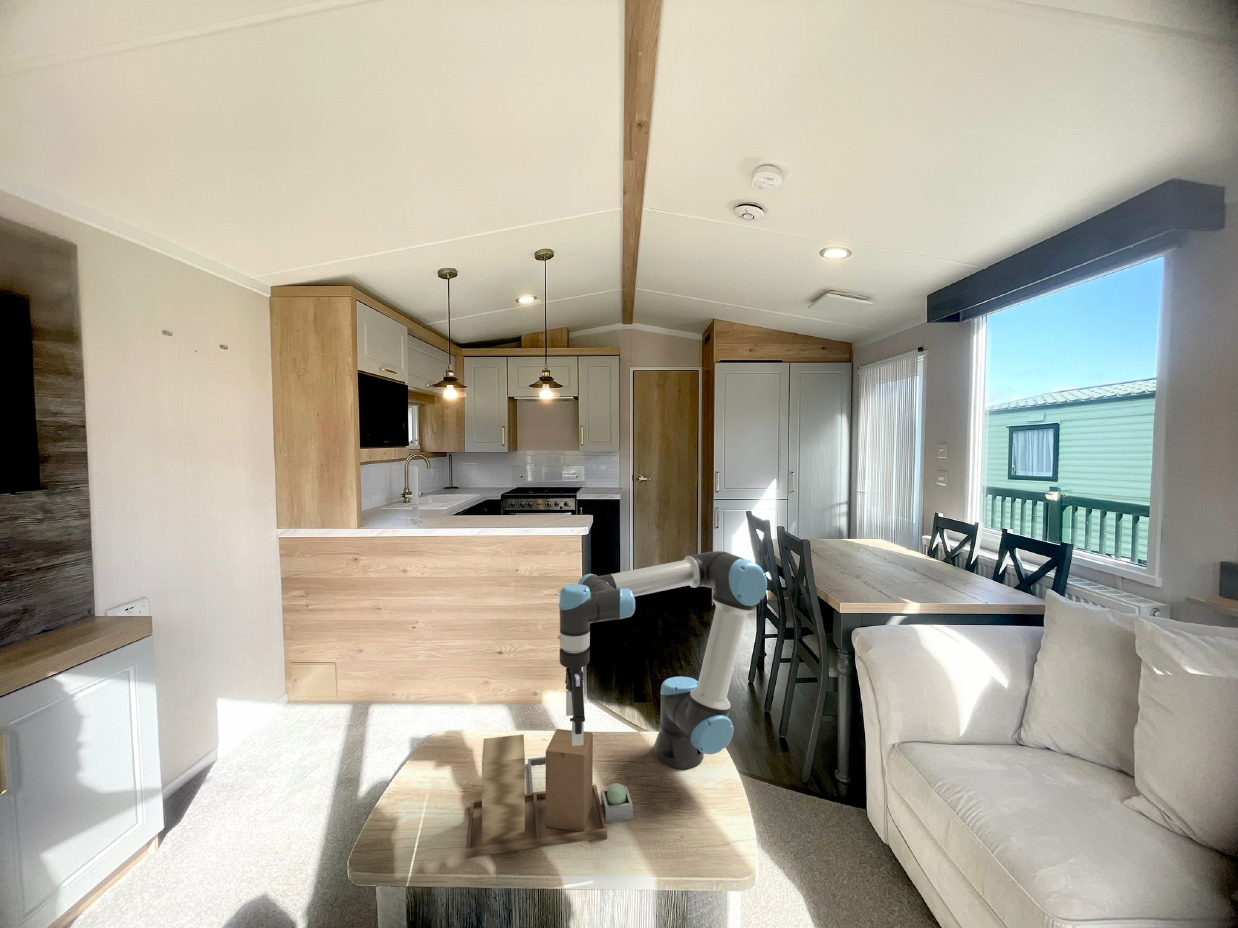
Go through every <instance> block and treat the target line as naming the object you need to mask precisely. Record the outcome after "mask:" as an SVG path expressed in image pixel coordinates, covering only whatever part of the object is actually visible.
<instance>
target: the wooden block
mask: <svg viewBox="0 0 1238 928" xmlns="http://www.w3.org/2000/svg"><path fill="white" fill-rule="evenodd" d="M593 744H594V735H593V732H592V731H591V732H590V731H583V745H578V746H572V729H562V728H556V730H555V731H554V733H553V735H552V737H551V740H550V741H549V744H547V745H548V746H547V747H546V750H545V757H546V763H545V791H546V827H547V828H554V829H562V830H569V831H577V832H583V831H585V827H586V824H587V821H588V817H589V814H590V811H591V807H592V785H593V776H594V775H593V771H594V770H593V766H594V765H593V762H594V760H593V757H594V753H593V752H594V749H593V748H594V747H593V746H594V745H593Z"/></svg>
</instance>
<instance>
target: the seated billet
mask: <svg viewBox="0 0 1238 928" xmlns="http://www.w3.org/2000/svg"><path fill="white" fill-rule="evenodd" d="M482 742H483V744H482V745H483V746H482V755H481V756H482V757H481V799H482V844H485V843H491V842H498V841H505V840H512V839H518V838H525V794H526V791H525V790H526V789H525V788H526V785H525V782H526V779H525V777H526V770H525V769H526V763H525V762H526V755H525V753H526V751H525V737H524V734H515V735H507V736H496V737H495V736H494V737H487V738H483V741H482Z"/></svg>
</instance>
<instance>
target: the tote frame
mask: <svg viewBox="0 0 1238 928" xmlns="http://www.w3.org/2000/svg"><path fill="white" fill-rule="evenodd" d="M542 764H546V756H541V757H535V758H534V757H532V758H527V769H528V784H529V785H528V787H529V793H534V791H533V789H534V788H533V787H534V786H533V777H532V776H533V774H532V773H533V772H532V765H533V766H535V765H542ZM542 791H543V790H541V791H540V792H542Z"/></svg>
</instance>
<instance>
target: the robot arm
mask: <svg viewBox="0 0 1238 928" xmlns="http://www.w3.org/2000/svg"><path fill="white" fill-rule="evenodd" d="M687 586H690V588H698V587H703V588H704V587H706V588H710V589H713V590H714V591H713V594H712V602H713V603H714V605H715V610H714V615H713V618H712V622H711V628H710V631H709V635H708V639H707V644H706V647H705V648H706V649H705V652H704V656H703V660H702V665H701V669H700V674H699V677H698V680H696V679H695V678H694V677H693V678H692V677H690V676H689V677H688V676H673V677H668V678H667V679H665V680H664V681H663V682H662V684H661V686H660V694H659V695H660V728H659V731H658V733H657V737H656V739H655V741H654V756H655V758H656V759H657V761H659V762H660V763H661V764H663V765H664V766H667V767H670V768H673V769H679V770H680V769H684V770H685V769H691V768H695V767H696V766H698V765H700V764H701V763H702V762H703V761H704V760H703V759H704V756H705V755H715V754H717V753H720V752H721V751H722V750H723V749H725V748H726V747H728V745H729V744H730V743H731V740H732V738H733V736H734V725H733V722H732V720H731V719H730V718H729V714H730V710H731V702H730V701H729V699H728V692H729V689H730V684H731V682H732V676H733V672H734V668H735V664H736V659H737V656H738V651H739V646H740V643H741V637H742V632H743V629H744V625H745V621H746V618H747V617H746V616H747V615H748V614H750V613H752V612H753V610H754V607H755V606H756V605H758V604H759V603H760V602H761V600H763V599H764V598H765V596H766V594H767V590H768V589H767V588H768V579H767V576H766V573H765V572H764V570H763V568H762V567H761V566H760V565H758V564H757V563H755V562H753V561H751V560H750V559H747V558H745V557H741V556H738V555H734V554H732V553H730V552H728V551H722V550H719V551H717V550H715V551H709V552H707V551H706V552H701V553H697V554H691V555H690V554H689V555H686V556H685V557H684V559H683V560H677V561H672V562H669V563H661V564H657V565H652V566H647V567H642V568H637V569H631V570H626V571H619V572H616V573H610V574H604V575H599V576H598V575H597V574H593V573H588V574H584V575H583V576H582V577H580V579H579V580H578V583H577V584H576V583H574V584H568V585H565V586H563V587H562V588H561V589H560V592H559V603H558V607H559V634H558V635H557V638H556V639H557V640H559V664H560V665H561V666H563V667H564V668H565V680H564V683H565V690H566V691H565V716H566V717H570V716H572V717H570V719H569V721H570V723H571V730H572V746H578V745H583V732H585V731H584V727H585V726H584V722H586V718H585V717H586V716H585V701H584V700H585V699H584V671H583V669H582V668H583V667H586V666H587V665H588V664H589V663H590V644H591V643H590V639H591V636H590V635H591V629H590V627H591V625H590V624H592V623H593V624H594V623H600V622H605V621H606V622H607V621H614V620H615V621H616V620H622V619H626V618H631V617H632V616H633V615H634V613H635V610H636V599H635V597H638V596H643V595H649V594H654V593H658V592H662V591H668V590H671V589H677V588H681V587H687ZM704 754H705V755H704Z"/></svg>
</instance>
